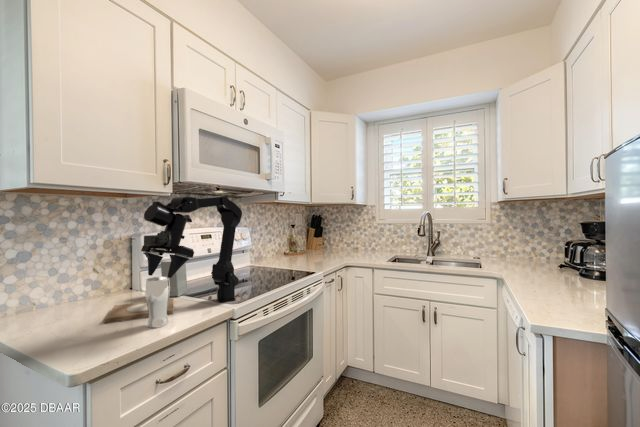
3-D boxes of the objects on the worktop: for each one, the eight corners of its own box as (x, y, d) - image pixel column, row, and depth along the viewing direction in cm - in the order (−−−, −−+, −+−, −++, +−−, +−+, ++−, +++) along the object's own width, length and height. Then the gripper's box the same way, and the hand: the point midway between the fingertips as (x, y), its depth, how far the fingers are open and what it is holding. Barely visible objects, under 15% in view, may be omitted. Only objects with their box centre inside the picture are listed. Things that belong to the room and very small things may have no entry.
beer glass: (164, 319, 99) (164, 275, 99) (173, 323, 94) (173, 278, 94) (142, 325, 93) (141, 278, 93) (150, 330, 89) (150, 281, 89)
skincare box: (187, 293, 131) (187, 258, 131) (176, 297, 124) (176, 261, 124) (172, 292, 133) (172, 258, 133) (160, 296, 126) (160, 260, 126)
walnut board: (173, 302, 118) (173, 297, 118) (172, 314, 103) (172, 309, 103) (114, 309, 109) (114, 304, 109) (104, 323, 95) (104, 318, 95)
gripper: (134, 222, 96) (117, 269, 90) (173, 223, 88) (157, 274, 83) (163, 232, 105) (148, 275, 100) (200, 234, 97) (187, 280, 92)
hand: (159, 276), depth 93 cm, fingers open, 9 cm apart
